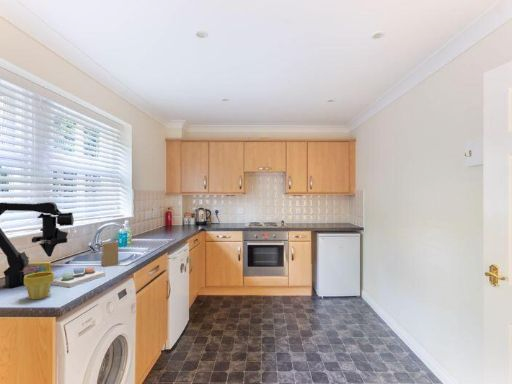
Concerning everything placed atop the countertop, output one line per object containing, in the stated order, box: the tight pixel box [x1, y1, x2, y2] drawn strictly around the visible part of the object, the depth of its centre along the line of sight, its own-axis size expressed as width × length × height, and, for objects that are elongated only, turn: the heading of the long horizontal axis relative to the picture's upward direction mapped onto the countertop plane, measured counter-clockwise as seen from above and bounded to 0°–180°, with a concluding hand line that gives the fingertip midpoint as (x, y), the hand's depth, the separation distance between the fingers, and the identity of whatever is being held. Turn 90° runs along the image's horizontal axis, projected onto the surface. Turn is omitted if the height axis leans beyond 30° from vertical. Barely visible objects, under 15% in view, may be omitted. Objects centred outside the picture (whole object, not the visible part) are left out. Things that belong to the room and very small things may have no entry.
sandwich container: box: [100, 241, 119, 268], centre depth 178 cm, size 9×15×15 cm, turn 35°
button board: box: [51, 270, 106, 288], centre depth 144 cm, size 20×14×2 cm
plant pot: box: [23, 271, 55, 301], centre depth 120 cm, size 10×10×10 cm
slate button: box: [73, 267, 85, 274], centre depth 144 cm, size 4×4×2 cm
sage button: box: [61, 272, 74, 280], centre depth 138 cm, size 4×4×2 cm
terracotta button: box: [84, 266, 95, 273], centre depth 149 cm, size 4×4×2 cm
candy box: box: [22, 261, 52, 276], centre depth 148 cm, size 16×2×8 cm, turn 95°
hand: (49, 256), depth 141 cm, fingers closed
